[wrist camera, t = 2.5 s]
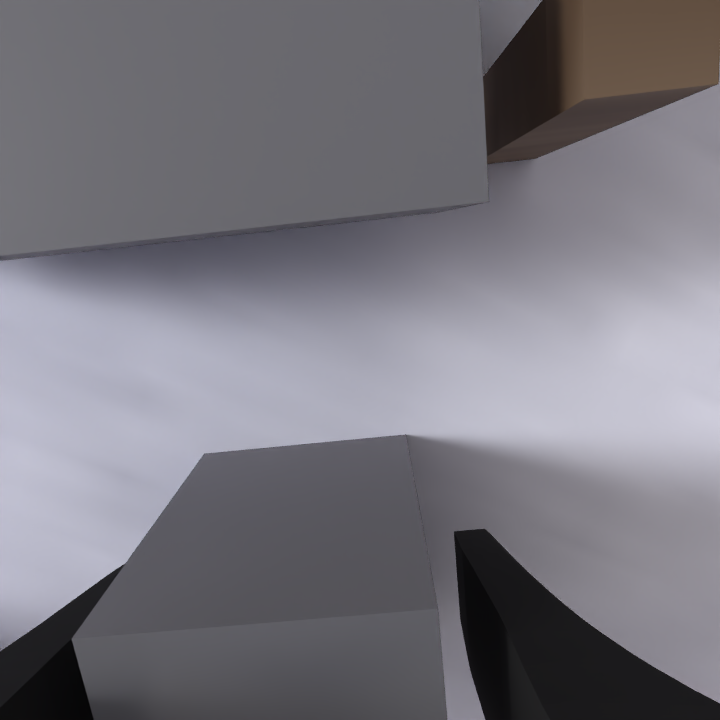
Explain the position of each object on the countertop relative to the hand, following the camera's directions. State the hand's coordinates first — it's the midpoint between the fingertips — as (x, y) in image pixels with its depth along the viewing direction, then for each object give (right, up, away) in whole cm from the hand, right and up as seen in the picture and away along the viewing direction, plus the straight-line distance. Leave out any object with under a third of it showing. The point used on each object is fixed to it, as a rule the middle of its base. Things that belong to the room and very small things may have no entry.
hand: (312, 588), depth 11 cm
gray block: (0, 0, +1) cm, 2 cm away
